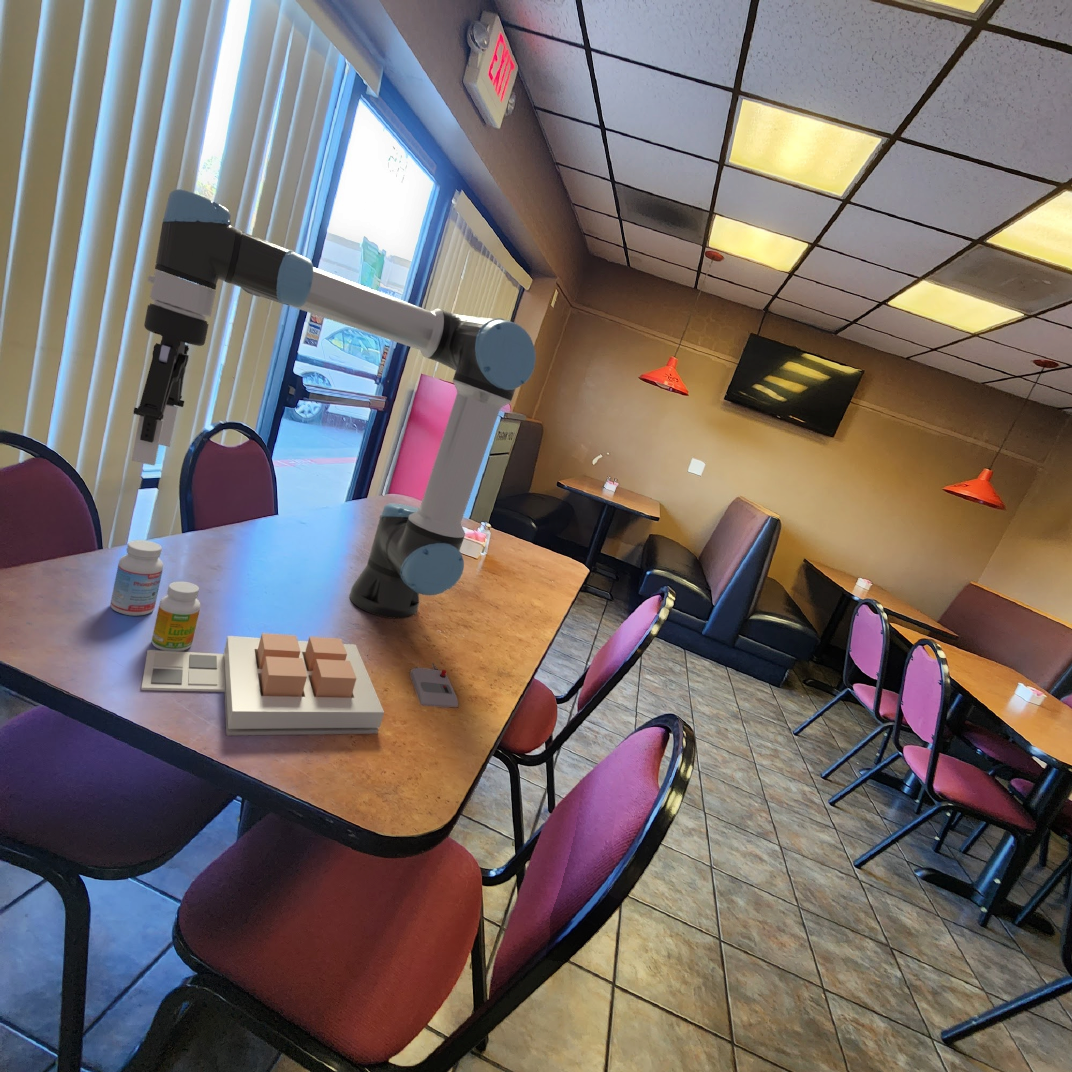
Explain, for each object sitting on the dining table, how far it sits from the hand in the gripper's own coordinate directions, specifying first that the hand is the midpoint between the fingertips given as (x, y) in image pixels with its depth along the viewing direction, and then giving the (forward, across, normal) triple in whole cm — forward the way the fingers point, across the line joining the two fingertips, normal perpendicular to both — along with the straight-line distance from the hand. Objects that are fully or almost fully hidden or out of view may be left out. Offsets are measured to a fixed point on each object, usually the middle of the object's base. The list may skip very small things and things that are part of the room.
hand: (152, 453), depth 88 cm
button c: (+24, +22, +30) cm, 44 cm away
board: (+27, +19, +26) cm, 42 cm away
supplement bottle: (+27, +8, +8) cm, 29 cm away
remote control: (+28, +14, +49) cm, 58 cm away
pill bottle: (+27, -2, +1) cm, 27 cm away
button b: (+24, +16, +22) cm, 36 cm away
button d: (+24, +15, +29) cm, 41 cm away
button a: (+24, +23, +23) cm, 40 cm away
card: (+27, +16, +11) cm, 33 cm away
